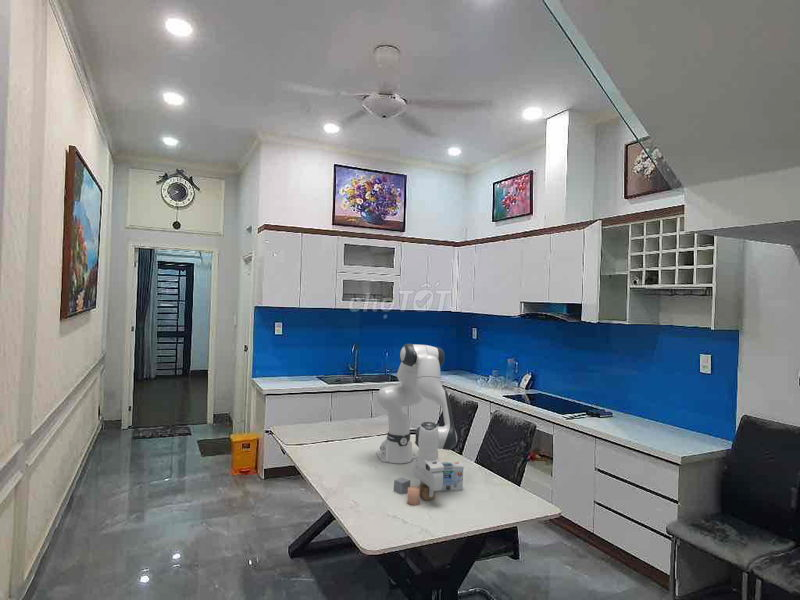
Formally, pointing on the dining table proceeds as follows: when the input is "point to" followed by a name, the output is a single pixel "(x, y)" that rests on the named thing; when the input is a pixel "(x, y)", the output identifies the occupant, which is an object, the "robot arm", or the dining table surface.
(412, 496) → the cylinder
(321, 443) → the dining table surface
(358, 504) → the dining table surface
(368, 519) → the dining table surface
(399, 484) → the slate cube
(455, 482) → the light bulb box
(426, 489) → the walnut cube
